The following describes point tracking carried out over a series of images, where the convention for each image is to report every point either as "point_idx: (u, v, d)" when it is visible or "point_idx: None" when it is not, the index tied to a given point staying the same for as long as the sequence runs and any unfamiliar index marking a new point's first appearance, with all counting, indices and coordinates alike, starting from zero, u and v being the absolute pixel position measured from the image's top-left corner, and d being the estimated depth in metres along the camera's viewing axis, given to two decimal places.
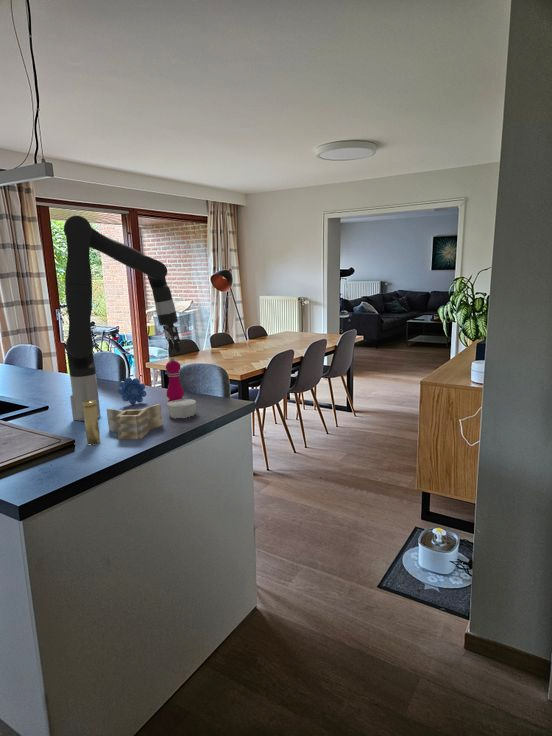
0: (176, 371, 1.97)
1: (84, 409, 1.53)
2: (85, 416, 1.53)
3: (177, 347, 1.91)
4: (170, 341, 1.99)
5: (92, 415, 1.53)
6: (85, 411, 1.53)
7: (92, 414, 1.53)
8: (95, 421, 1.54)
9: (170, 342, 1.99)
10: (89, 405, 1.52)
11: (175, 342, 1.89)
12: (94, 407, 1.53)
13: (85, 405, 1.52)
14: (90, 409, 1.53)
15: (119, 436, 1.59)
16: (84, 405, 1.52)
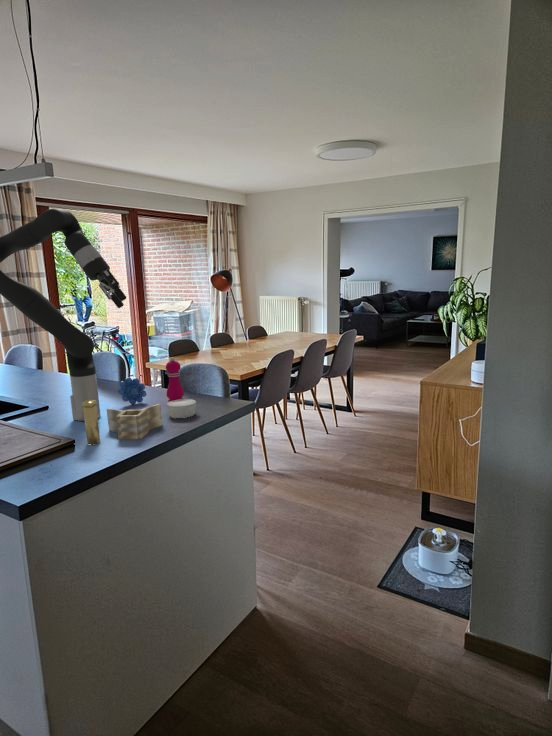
0: (176, 371, 1.97)
1: (84, 409, 1.53)
2: (85, 416, 1.53)
3: (120, 293, 1.53)
4: (114, 298, 1.61)
5: (92, 415, 1.53)
6: (85, 411, 1.53)
7: (92, 414, 1.53)
8: (95, 421, 1.54)
9: (114, 299, 1.61)
10: (89, 405, 1.52)
11: (114, 287, 1.51)
12: (94, 407, 1.53)
13: (85, 405, 1.52)
14: (90, 409, 1.53)
15: (119, 436, 1.59)
16: (84, 405, 1.52)
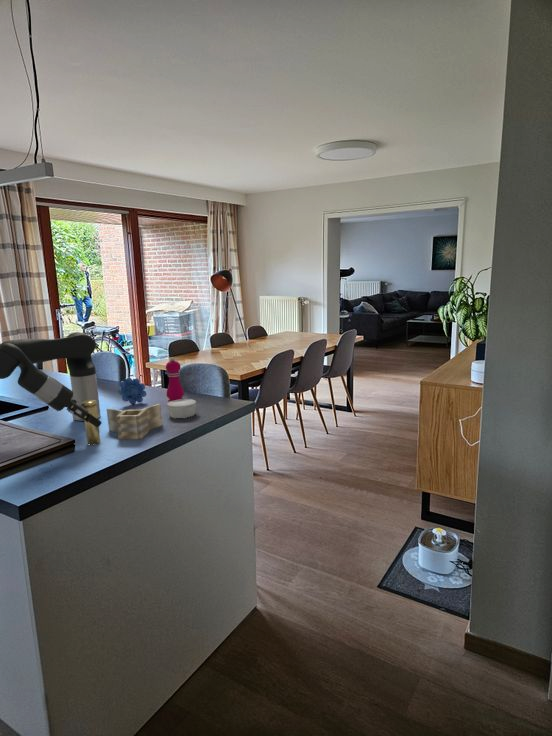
0: (176, 371, 1.97)
1: None
2: (85, 416, 1.53)
3: (95, 422, 1.53)
4: None
5: None
6: None
7: (92, 414, 1.53)
8: None
9: None
10: (89, 405, 1.52)
11: (89, 420, 1.50)
12: (94, 407, 1.53)
13: (85, 405, 1.52)
14: (90, 409, 1.53)
15: (119, 436, 1.59)
16: (84, 405, 1.52)
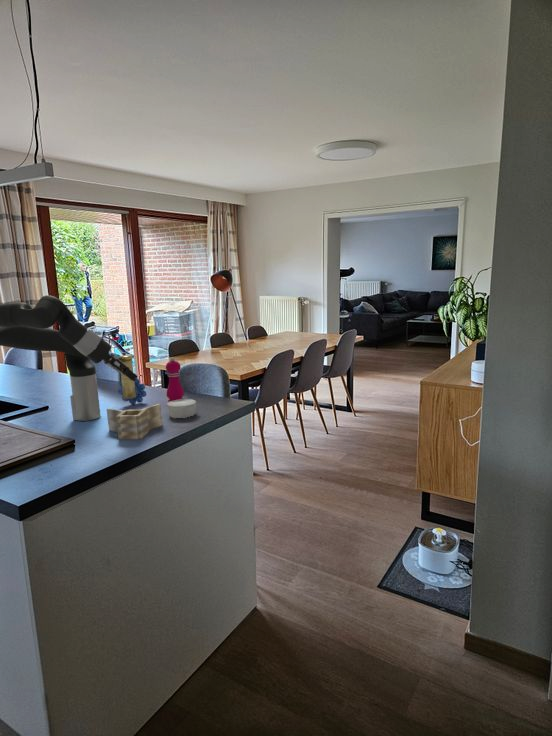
0: (176, 371, 1.97)
1: None
2: (122, 370, 1.57)
3: (132, 375, 1.56)
4: None
5: None
6: None
7: None
8: None
9: None
10: (126, 359, 1.56)
11: (126, 373, 1.54)
12: (130, 361, 1.57)
13: (122, 359, 1.55)
14: (127, 363, 1.56)
15: (119, 436, 1.59)
16: (121, 359, 1.55)
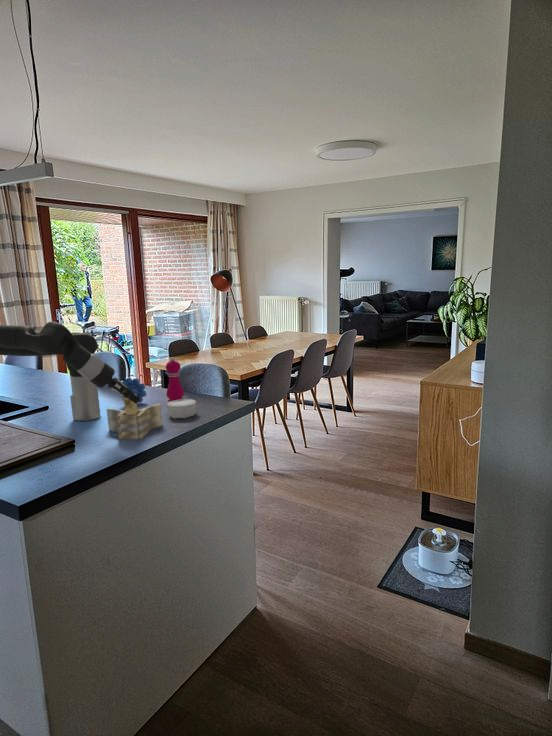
0: (176, 371, 1.97)
1: (125, 403, 1.59)
2: (126, 409, 1.59)
3: (134, 398, 1.56)
4: None
5: (133, 408, 1.59)
6: (126, 404, 1.59)
7: (133, 408, 1.59)
8: (135, 414, 1.60)
9: (123, 392, 1.63)
10: None
11: (129, 396, 1.53)
12: None
13: (126, 399, 1.58)
14: (131, 402, 1.59)
15: (119, 436, 1.59)
16: (125, 399, 1.58)
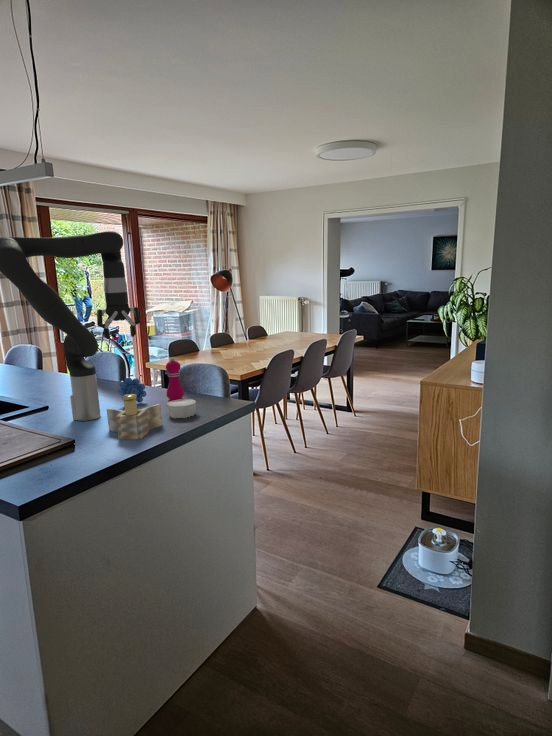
0: (176, 371, 1.97)
1: (125, 402, 1.59)
2: (126, 409, 1.59)
3: None
4: None
5: (133, 408, 1.59)
6: (126, 404, 1.59)
7: (133, 408, 1.59)
8: (135, 414, 1.60)
9: None
10: (130, 399, 1.58)
11: (138, 323, 1.71)
12: (134, 401, 1.60)
13: (126, 399, 1.58)
14: (131, 402, 1.59)
15: (119, 436, 1.59)
16: (125, 399, 1.58)
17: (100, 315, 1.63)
